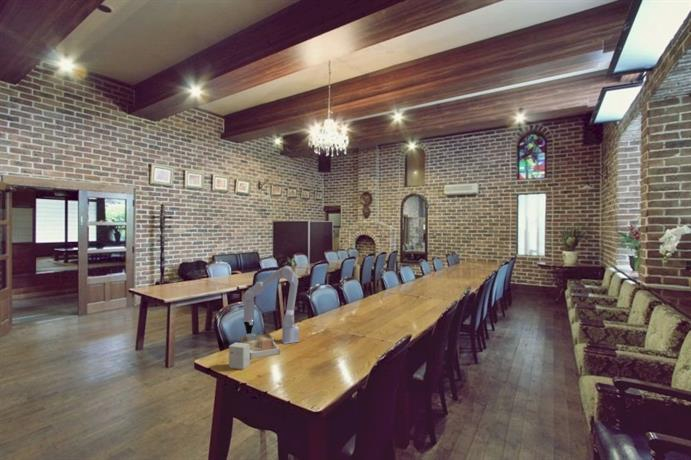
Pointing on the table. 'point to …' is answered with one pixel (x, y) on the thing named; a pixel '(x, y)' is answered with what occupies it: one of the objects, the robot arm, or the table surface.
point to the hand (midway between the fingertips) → (248, 334)
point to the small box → (239, 355)
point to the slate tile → (251, 337)
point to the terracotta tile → (266, 344)
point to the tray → (264, 352)
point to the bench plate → (257, 341)
